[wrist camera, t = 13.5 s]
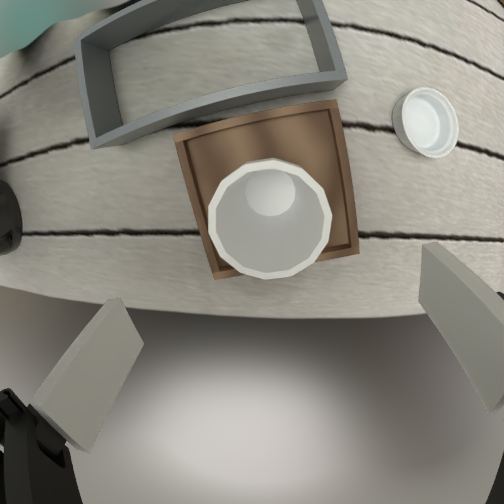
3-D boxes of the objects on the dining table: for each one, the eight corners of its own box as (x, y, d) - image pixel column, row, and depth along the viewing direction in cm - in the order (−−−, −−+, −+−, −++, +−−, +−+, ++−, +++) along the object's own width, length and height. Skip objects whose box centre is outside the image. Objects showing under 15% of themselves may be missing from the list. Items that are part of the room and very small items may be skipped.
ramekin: (378, 96, 28) (392, 91, 24) (430, 87, 26) (447, 84, 22) (398, 161, 31) (413, 165, 27) (447, 148, 29) (465, 151, 25)
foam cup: (324, 190, 32) (355, 222, 20) (273, 242, 35) (273, 299, 23) (266, 136, 30) (263, 133, 18) (215, 193, 33) (183, 226, 21)
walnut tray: (217, 270, 38) (214, 279, 36) (179, 135, 31) (172, 134, 29) (354, 246, 36) (359, 253, 33) (331, 102, 28) (336, 99, 26)
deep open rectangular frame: (120, 145, 32) (91, 149, 26) (102, 48, 26) (74, 38, 20) (332, 90, 28) (347, 79, 21) (299, -12, 22) (304, -39, 15)
